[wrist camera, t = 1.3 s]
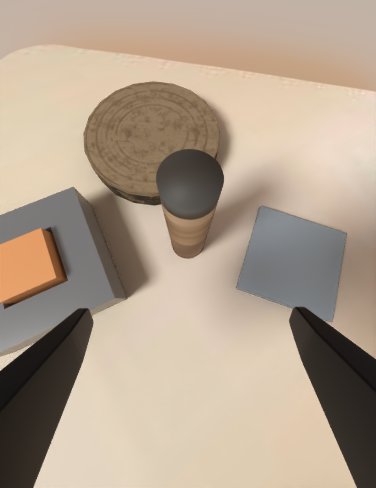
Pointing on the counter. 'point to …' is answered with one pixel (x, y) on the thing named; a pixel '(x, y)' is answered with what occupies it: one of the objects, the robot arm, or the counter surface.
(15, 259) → the button
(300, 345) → the robot arm
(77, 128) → the counter surface
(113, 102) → the brown ringed flat disc
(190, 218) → the dark-capped brown cylinder
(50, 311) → the grey square block
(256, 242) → the mat
